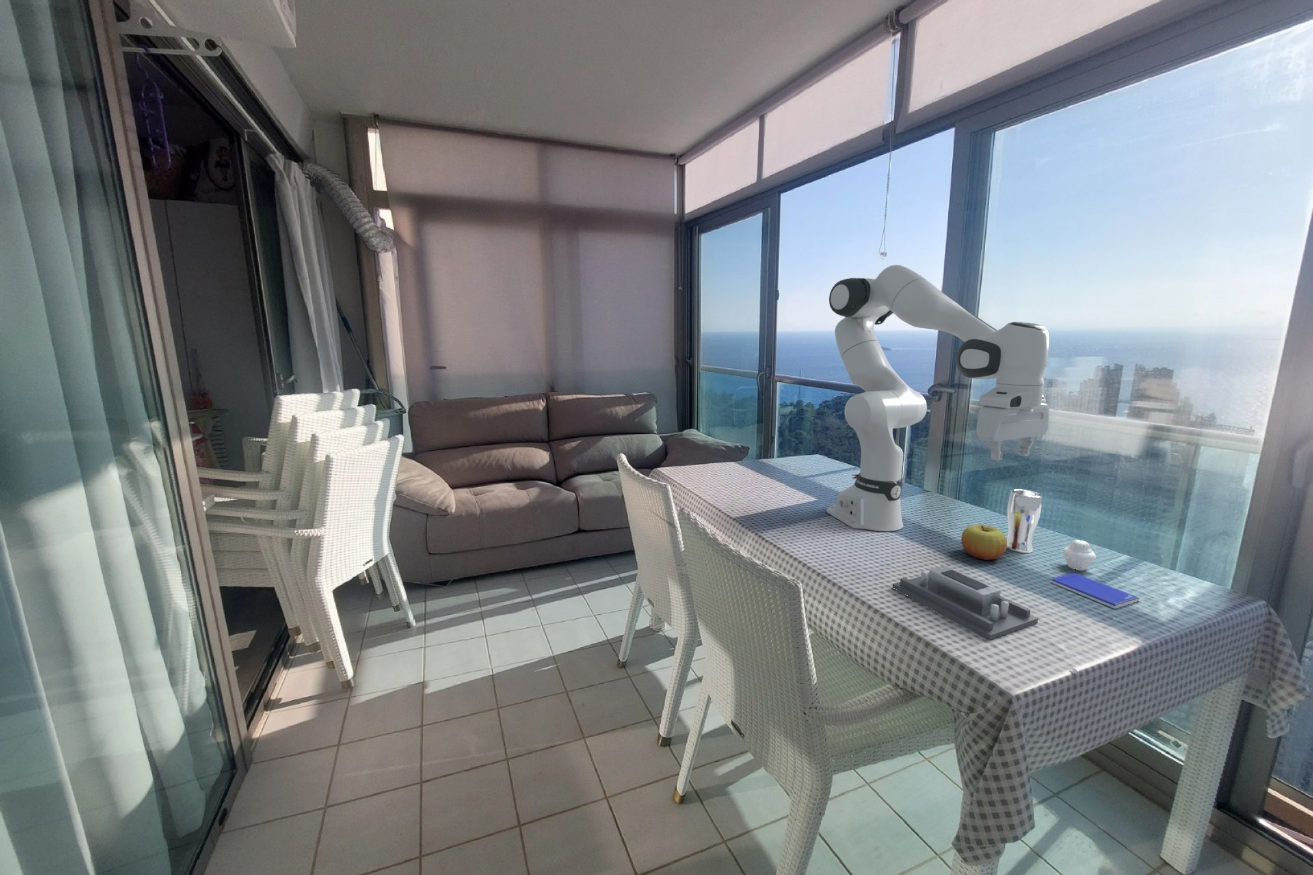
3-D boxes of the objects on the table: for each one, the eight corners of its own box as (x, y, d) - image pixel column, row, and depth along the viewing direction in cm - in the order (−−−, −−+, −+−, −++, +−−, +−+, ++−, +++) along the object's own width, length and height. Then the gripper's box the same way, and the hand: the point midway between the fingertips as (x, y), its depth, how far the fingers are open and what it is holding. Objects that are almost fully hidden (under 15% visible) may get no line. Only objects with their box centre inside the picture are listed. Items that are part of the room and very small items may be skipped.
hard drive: (1139, 596, 111) (1075, 572, 122) (1115, 604, 108) (1051, 578, 119) (1138, 603, 111) (1074, 578, 122) (1114, 611, 108) (1050, 584, 119)
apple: (950, 551, 136) (953, 522, 134) (976, 545, 140) (979, 516, 138) (987, 567, 127) (991, 535, 125) (1013, 560, 131) (1018, 529, 129)
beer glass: (999, 548, 137) (1007, 493, 134) (1005, 540, 142) (1012, 487, 139) (1032, 556, 133) (1040, 498, 130) (1037, 548, 138) (1045, 492, 135)
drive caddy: (927, 589, 114) (929, 569, 113) (943, 584, 116) (945, 565, 115) (981, 616, 103) (984, 594, 102) (997, 610, 105) (1000, 589, 104)
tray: (892, 587, 117) (894, 571, 116) (936, 575, 122) (938, 559, 122) (990, 640, 97) (992, 620, 96) (1037, 622, 103) (1040, 603, 102)
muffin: (1059, 568, 126) (1063, 540, 125) (1061, 559, 131) (1065, 533, 129) (1093, 575, 122) (1097, 547, 121) (1094, 567, 127) (1098, 539, 125)
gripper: (1031, 393, 125) (1024, 450, 128) (974, 397, 117) (967, 458, 120) (1061, 395, 120) (1052, 455, 122) (1002, 401, 111) (994, 465, 114)
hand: (1009, 457), depth 121 cm, fingers open, 8 cm apart
